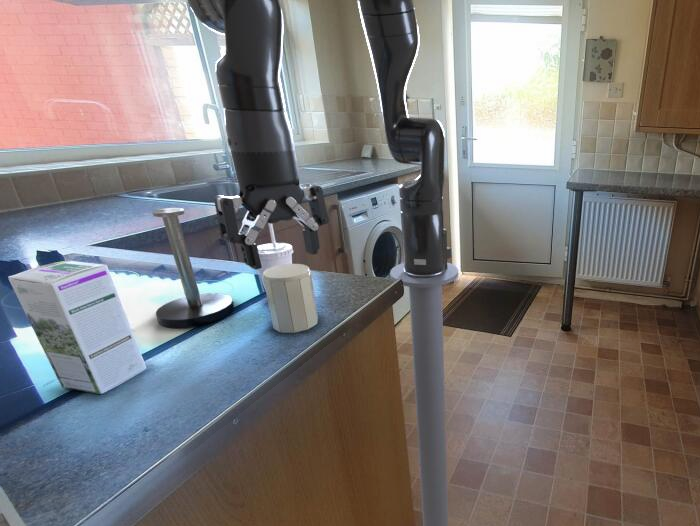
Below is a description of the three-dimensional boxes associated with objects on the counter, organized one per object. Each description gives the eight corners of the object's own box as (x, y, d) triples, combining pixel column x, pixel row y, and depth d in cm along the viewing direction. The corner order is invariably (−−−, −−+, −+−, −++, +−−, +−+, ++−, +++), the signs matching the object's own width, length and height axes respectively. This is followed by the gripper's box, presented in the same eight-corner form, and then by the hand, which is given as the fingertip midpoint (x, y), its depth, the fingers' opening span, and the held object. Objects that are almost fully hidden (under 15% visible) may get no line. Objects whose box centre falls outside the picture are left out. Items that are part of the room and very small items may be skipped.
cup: (303, 311, 69) (294, 260, 65) (326, 322, 66) (318, 270, 62) (265, 324, 64) (254, 271, 61) (288, 337, 61) (277, 281, 57)
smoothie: (307, 300, 73) (295, 223, 67) (269, 311, 68) (252, 230, 63) (292, 290, 77) (278, 216, 71) (254, 299, 72) (237, 222, 67)
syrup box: (149, 368, 52) (110, 262, 47) (99, 397, 47) (49, 280, 41) (111, 362, 53) (69, 257, 48) (58, 390, 48) (3, 275, 42)
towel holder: (218, 296, 73) (193, 200, 66) (245, 311, 68) (221, 210, 61) (148, 315, 65) (112, 210, 59) (173, 335, 60) (137, 222, 53)
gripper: (216, 152, 47) (247, 280, 54) (328, 146, 58) (342, 253, 65) (189, 146, 51) (221, 267, 58) (298, 142, 62) (315, 244, 69)
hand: (285, 260), depth 61 cm, fingers open, 8 cm apart
